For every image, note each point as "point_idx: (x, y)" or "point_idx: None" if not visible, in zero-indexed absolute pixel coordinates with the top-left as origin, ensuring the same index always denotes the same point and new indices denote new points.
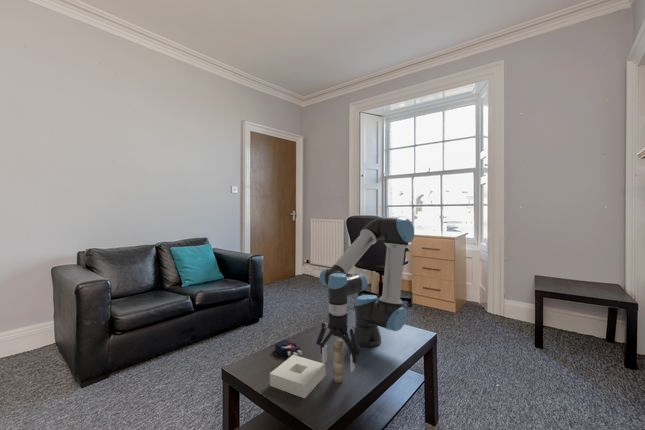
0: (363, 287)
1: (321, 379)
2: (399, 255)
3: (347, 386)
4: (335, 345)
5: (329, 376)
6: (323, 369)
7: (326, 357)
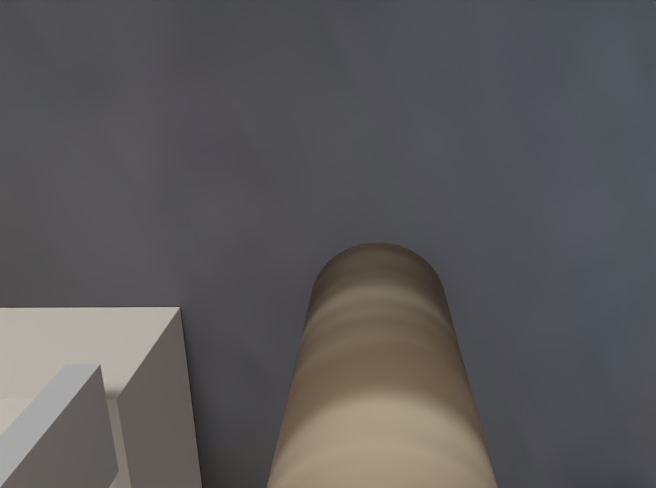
0: None
1: (189, 403)
2: None
3: (541, 366)
4: None
5: (233, 289)
6: (147, 416)
7: (68, 428)
